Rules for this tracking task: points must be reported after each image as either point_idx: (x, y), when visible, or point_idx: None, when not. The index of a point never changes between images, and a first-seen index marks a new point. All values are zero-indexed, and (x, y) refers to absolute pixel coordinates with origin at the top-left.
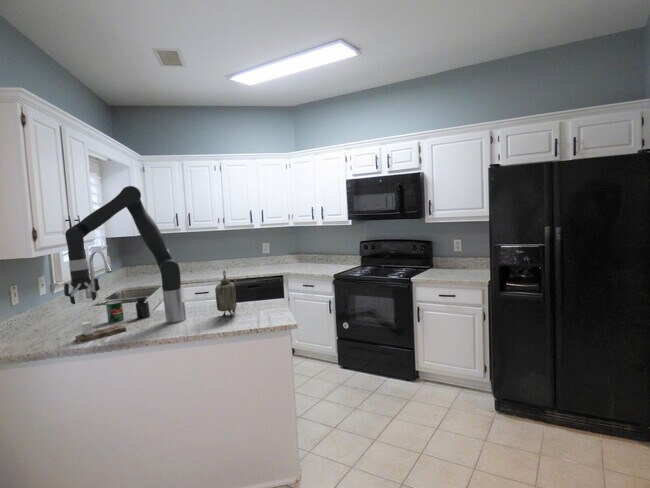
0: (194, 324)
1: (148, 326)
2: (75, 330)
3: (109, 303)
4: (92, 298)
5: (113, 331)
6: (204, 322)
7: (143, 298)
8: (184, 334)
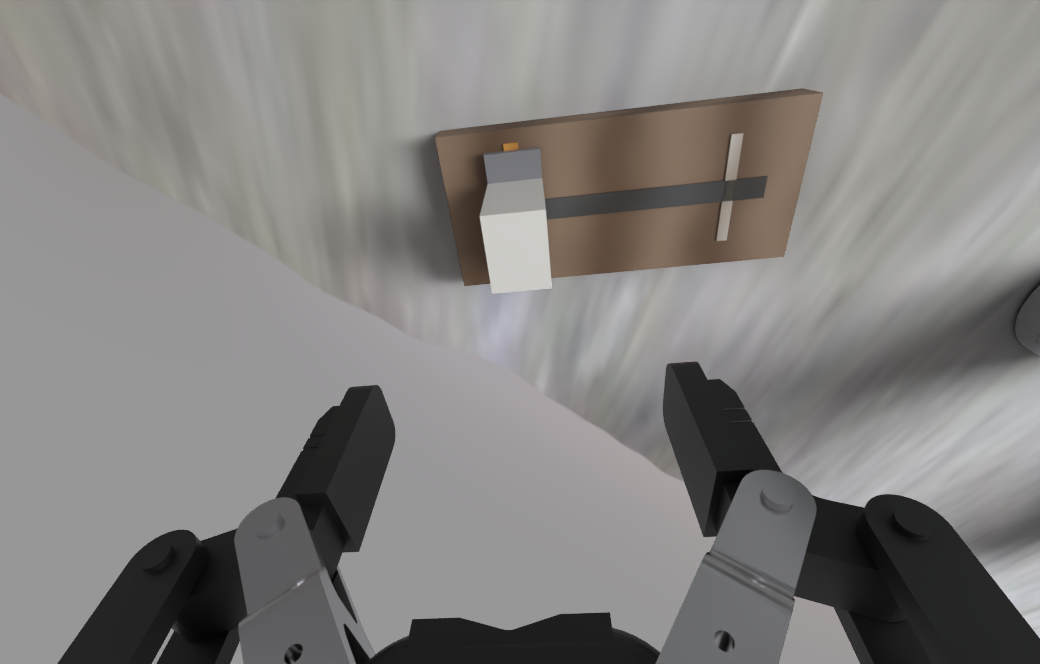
0: (991, 462)
1: (911, 270)
2: None
3: None
4: (672, 397)
5: (683, 262)
6: (1036, 471)
7: None
8: None
